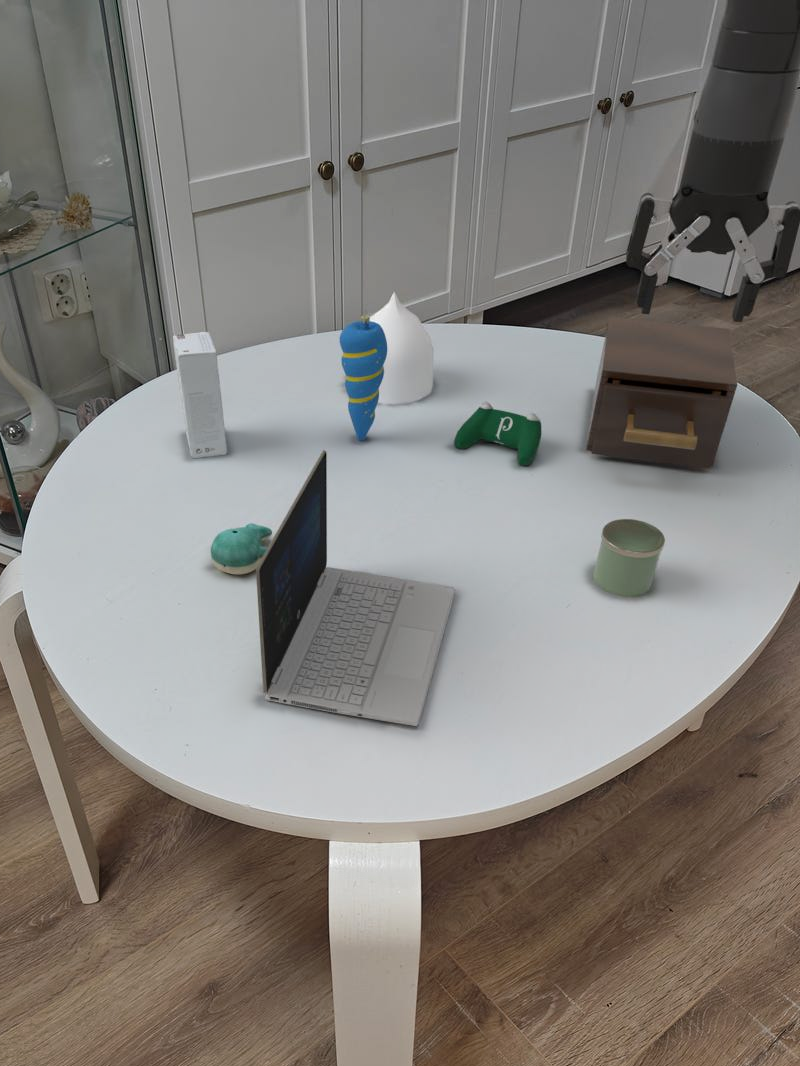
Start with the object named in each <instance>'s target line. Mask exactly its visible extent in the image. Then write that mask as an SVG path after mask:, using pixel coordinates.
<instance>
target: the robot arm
mask: <svg viewBox="0 0 800 1066" xmlns="http://www.w3.org/2000/svg"><path fill="white" fill-rule="evenodd" d="M719 25H720V26H719V28H718V32H717V36H716V41H715V45H714V50H713V54H712V58H711V64H710V66H709V67H710V68H709V70H708V72H707V76H706V79H705V82H704V84H703V87H702V90H701V94H700V97H699V101H698V105H697V109H696V110H695V113H694V116H693V127H692V131H691V136H690V139H689V142H688V149H687V152H686V157H685V161H684V166H683V170H682V175H681V179H680V181H679V182H680V183H679V187H678V189H677V192H676V193H675V194H674V196H673V197H672V198H670V199H669V198H662V197H656V196H654V195H653V193H651V192H645V193H643V194H642V195H641V197H640V199H639V203H638V207H637V210H636V214H635V217H634V222H633V225H632V229H631V233H630V236H629V240H628V243H627V248H626V252H625V258H626V259H625V262H626V265H627V266H628V267H629V268H635V269H637V270H639V271H640V272H641V275H640V280H639V283H638V288H637V292H636V305H637V308H640V309H641V314H642V315H650V313H651V309H652V306H653V301H654V296H655V291H656V288H657V283H658V280H659V279H658V278H659V276H658V275H659V274H658V273H659V271H660V270H661V269H662V268H663V267H664V266H665V265H667V264H668V263H669V261H671V260H673V259H674V258H676V257H677V256H678V255H679V254H680V253H681V252H682V251H684V249H687V250H689V251H690V253H695V254H696V253H697V254H701V253H707V252H710V253H713V254H716V255H725V256H727V255H728V254H727V253H731V252H733V251H734V250H736V253H737V255H738V257H739V260H740V262H741V263H742V265H743V267H744V269H745V271H746V275H743V276H742V279H741V282H740V285H739V289H738V292H737V294H736V295H737V296H736V299H735V303H734V305H733V309H732V314H731V317H732V321H733V322H734V323H735V322H736V323H742V322H743V320H744V317H749V316H750V315H751V314H752V313H753V311H754V307H755V304H756V300H757V298H758V294H759V291H760V287H761V285H762V283H763V282H765V281H766V280H769V279H773V278H776V279H781V278H782V279H783V278H784V277H785V276H786V275H787V273H788V272H789V271H788V270H789V267H790V263H791V259H792V256H793V251H794V249H795V248H794V247H795V244H796V240H797V237H798V236H797V235H798V232H799V227H800V206H799V204H798V203H797V202H796V201H793V200H792V201H788V202H787V203H785V204H769V201H768V200H769V198H768V197H769V193H770V189H771V186H772V182H773V179H774V177H775V176H774V175H775V172H776V169H777V165H778V162H779V158H780V155H781V151H782V148H783V145H784V141H785V138H786V134H787V131H788V128H789V124H790V121H791V117H792V113H793V111H794V107H795V102H796V98H797V93H798V86H799V80H800V0H726V1H725V6H724V10H723V13H722V17H721V20H720V24H719ZM665 214H669V217H670V220H671V222H672V224H673V226H674V227H673V228H672V229H671V230H670V231H669V232H668V233H667V234H666V235H665V236H664V237H663V238H662V239H661V241H660V243H659V244H658V245H657V246H655V248H654V249H653V250H652V251H650V252H649V253H647V252H645V251H644V247H645V243H646V240H647V236H648V233H649V229H650V226H651V225H655V224H657V223H658V222H659V221H660V219H661V217H662V216H663V215H665ZM767 220H770V221H771V227H772V229H773V231H774V232H775V233H776V236H775V241H774V244H773V247H772V253H771V257H770V259H768V260H764V261H761V262H760V259H759V257H758V255H757V253H756V250H755V248H754V245H753V244H752V241H751V239H750V237H751V235H753V234H754V233H755V231H757V230H758V229H759V228H761V226H762V225H763V224H764V223H765V222H766V221H767Z"/></svg>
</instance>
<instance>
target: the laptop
mask: <svg viewBox="0 0 800 1066" xmlns="http://www.w3.org/2000/svg"><path fill="white" fill-rule="evenodd" d="M327 457H328V455H327V451H326V450H325V449H323V450H322V451H321V453H320V455H319V457H318V458H317V460H316V462H315V464H314V465H313V467H312V469H311V471H310V472H309V474H308V475H307V478H306V479H305V481H304V483H303V485H302V487H301V489H300V490H299V492H298V493H297V495H296V497H295V499H294V501H293V503H292V504H291V506H290V508H289V509H288V511H287V512H286V515H285V516H284V518H283V520H282V521H281V523H280V525H279V527H278V529H277V531H276V532H275V534H274V536H273V538H272V539H271V541H270V543H269V545H268V546H267V547H268V548H267V550H266V552H265V553H264V555H263V557H262V559H261V560H260V562H259V564H258V566H257V568H256V569H255V576H256V593H257V611H258V623H259V624H258V626H259V639H260V640H259V643H260V645H259V646H260V659H261V661H260V662H261V675H262V676H261V677H262V689H263V690H262V691H263V692H262V693H263V694H265V693H266V695H265V700H266V701H270V702H276V703H279V704H285V705H290V706H296V707H301V708H307V709H311V710H319V711H323V712H330V713H336V714H340V715H347V716H353V717H358V718H363V719H364V718H365V719H371V720H375V721H376V720H377V721H383V722H388V723H396V724H400V725H407V726H414V727H418V726H419V724H420V721H421V717H422V714H423V710H424V706H425V703H426V699H427V697H428V691H429V688H430V685H431V681H432V677H433V674H434V670H435V666H436V663H437V659H438V655H439V652H440V649H441V645H442V642H443V638H444V634H445V630H446V627H447V623H448V620H449V615H450V612H451V609H452V605H453V602H454V598H455V594H456V588H455V587H453V586H449V585H443V584H436V583H430V582H425V581H418V580H417V581H416V580H412V579H406V578H398V577H393V576H385V575H381V574H373V573H368V572H363V571H362V572H361V571H355V570H348V569H341V568H338V567H337V568H336V567H329V566H327V564H328V517H327V516H328V514H327V513H328V502H327V501H328V498H327V497H328V496H327V495H328V493H327V491H328V488H327V487H328V486H327V485H328V483H327V482H328V480H327V479H328V478H327V472H328V471H327V466H328V465H327V464H328V463H327V461H328V459H327Z"/></svg>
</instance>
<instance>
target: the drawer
mask: <svg viewBox="0 0 800 1066" xmlns="http://www.w3.org/2000/svg"><path fill="white" fill-rule="evenodd" d="M720 394H721V390H716V389H707V388H698V387H689V386H679V385H670V384H661V383H652V382H643V381H634V380H624V379H615V378H609V380H608V383H606V385H605V390H604V395H603V399H602V404H601V409H600V414H599V419H598V423H597V428H596V433H595V438H594V443H593V447H592V451H591V454H593V455H600V456H606V457H607V456H608V457H615V458H625V459H631V460H632V459H633V460H638V461H639V460H640V461H647V462H655V463H662V464H663V463H664V464H670V465H678V466H685V467H687V466H688V467H694V468H701V469H702V468H704V469H711V466H710V465H711V462H712V459H713V455H714V452H715V449H716V445H717V442H718V439H719V436H720V432H721V429H722V426H723V423H724V419H725V416H726V413H727V410H728V406H729V403H730V398H729V396H720Z"/></svg>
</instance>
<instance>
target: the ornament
mask: <svg viewBox="0 0 800 1066" xmlns="http://www.w3.org/2000/svg"><path fill="white" fill-rule="evenodd" d="M366 312H367V309H365V310H364V314H363V315H361V316H360V320H358V321H353V322H351V323H349V324H348V325H347V326H345V327H344V328H343V329H342V331H341V332H340V334H339V345H340V348H341V351H342V355H341V359H340V360H341V366H342V369H343V372H344V374H345V380H344V386H345V390H346V394H347V397H348V403H347V410H348V414H349V417H350V421H351V423H352V426H353V429H354V430H353V431H354V432H355V437H356V439H357V441H358V442H363V441H365V439H366V437H367V435H368V433H369V431H370V429H371V428H372V426H373V424H374V422H375V418H376V408H377V406H378V404H379V403H378V399H379V387H380V385H381V382H382V380H383V377H384V367H383V365H384V362H385V360H386V356H387V341H386V337H385V334H384V331H383V329H382V327H381V326H380V325H379V324H378V323H375V322H372V321H370V317H371V316H370V315H368V314H366Z"/></svg>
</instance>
